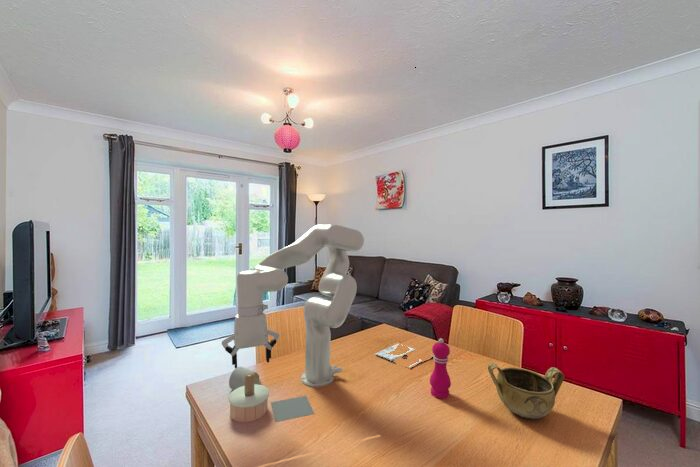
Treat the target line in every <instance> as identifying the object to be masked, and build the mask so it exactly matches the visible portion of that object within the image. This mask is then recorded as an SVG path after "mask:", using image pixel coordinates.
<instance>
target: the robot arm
mask: <svg viewBox="0 0 700 467" xmlns="http://www.w3.org/2000/svg"><path fill="white" fill-rule="evenodd" d="M364 242H365V239H364V235H363V234H362V232H360V231H359V230H357V229H355V228H354V229H353V228H350V227H347V226H342V225H338V224H332V223H331V224H329V223H327V224H325V223H320V224H315V225H314V226H313V227H311V228H310V229H309V230H307V231H306V232H305V233H303V234H302V236H299V237H298V238H297V240H295V241H294V242H292V243H291V244H289V245H288V246H285V247H283V248H281V249H279V250H276V251H275V252H273V253H271V254H269V255H268V256H266V257H265V258H264V259H262V260H261V261H260V262H259V263H258V264H256V265H255V266H254V267H253V269H251V270H250V269H249V270H243V271H240V272H239V273H238V274H236V275H237V276H236V286H237V288H236V289H237V314H236V315H235V317H234V325H233V334H231V335H229V336H227V337H226V338H225V339H223V340H222V341H221V345H222V347H223V348H224V350H225V352H227V353H228V354H230V357H231V364H232V365H233V366H234V369H236V368H237V367H238V354H237V353H238V351H239V350H241V349H242V350H243V349H249V348H255V347H261V346H264V347H265V360H266V363H270V359H272V349H273V347H274V346H275V345H276V344H277V342H278V339H279V337H280V333H279V332H277V331H274V330H271V329H269V327H268V321H267V314H266V312H265V310H268V309H269V308H268V304H265V303H264V302H263V301H264V297H263V296H264V293H270V292H271V293H273V292H274V293H275V292H279V291H282V290H284V288H285V287H286V286H287V285H288V282H289V277H288V274H287V272H285V270H286V269H288V268H291V267H296V266H297V267H298V266H300V265H305V264H306V263H308V262H309V261H311V259H312V258H314V257H315V256H316V255H317V254H318V253H319V252H320V251H321V250H323V248H328V252H329V260H328V263H327V266H326V268H325V269H324V272H323V274H322V276H321V278H320V280H319V282H318V292H319V293H321V295H324V296H326V297H329V298H325V297H321V296H313V297H309V299H307V300H306V301H305V303H304V305H303V317H304V323H305V354H304V355H305V357H304V358H305V359H304V360H305V361H304V362H305V364H304V368H305V369H304V372H303V373H302V374H301V377H300V380H301V383H302V384H303V385H305V386H308V387H312V388H320V387H325V386H328V385H330V384H331V383H333V382H334V379H335V376H334V375H335V374H336V373H337V374H339V373H343V368H342V366H340V367H337V365H331V338H332V337H331V335H332V334H331V328H332V329H336V328H337V329H338V328H339V327H341V326H342V325H343V324H344V322H345V321H346V319H347V317H348V314H349V312H350V310H351V307H352V304H353V302H354V300H355V298H356V294H357V290H358V287H357V284H358V283H357V281H356V279H355V278H354V277H353V276H352V275H350V274H349V275H348V274H347V273H348V271H349V268H350V259H349V256H348V252H358V251H360V250H361V249H362V248H363V246H364V244H365V243H364ZM330 298H332V299H330ZM269 336H271V337H273V338H272V339H271V340H270V341H269ZM232 341H233V343H234V345H233V347H231V346H230V345H229V343H230V342H232Z"/></svg>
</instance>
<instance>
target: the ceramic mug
mask: <svg viewBox="0 0 700 467" xmlns="http://www.w3.org/2000/svg"><path fill="white" fill-rule="evenodd" d="M247 373H254V374H255V384H258V385H261V382H262V380H261V379H260V375H259V373H258V372H256V371H255V370H253V369H252V370H251V369H249V368H245V367H243V366H237V368H234V369H233V370H232V372H231V374H230V376H229V380H228V386H229V388H230V389H231V390H232V391H234V390H235V389H237V388H239V387H242V386H244V383H245V374H247Z"/></svg>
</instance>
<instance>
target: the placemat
mask: <svg viewBox="0 0 700 467" xmlns="http://www.w3.org/2000/svg"><path fill="white" fill-rule="evenodd" d="M311 405H312V404H311V402H310V401H309V399H308V396H307V395H303V396H298V397H297V396H296V397H291V398H286V399H281V400H277V401H270V406H271V409H272V414H273V418H274V421H275V423H278V422H283V421H287V420H292V419H296V418H297V419H298V418H301V417H307V416H311V415H315V412H314V410H313V407H312V406H311Z"/></svg>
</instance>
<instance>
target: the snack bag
mask: <svg viewBox="0 0 700 467" xmlns="http://www.w3.org/2000/svg"><path fill="white" fill-rule="evenodd" d="M399 344H400V343H399V342H398V343H396V344H394V345H391V346H390V347H387V348H384V349H382V350H379V351H378V352H376V353H374V355H375V356H376V355H378V356H380V357H379V358H381V357H383V358H386V359H389V360H390V361H389V362H391V361H395V359H397V358H399V357H401V356H403V355H404V354H406V353H409V352H411V351H414V350H416V348H413V347H410V346H407V347H408V348H409V349H410V350H409V351H407V352H406V353H403V354H400V355H393V354H391V355H390V354H388V353H390V352H392V351H395V349H396V348H397V346H398V345H399ZM401 345H402V346H403V345H404V344H401ZM386 353H387V354H386ZM378 356H377V357H378ZM383 358H382V359H383ZM386 359H385V360H386ZM421 361H422V360H421V359H419V362H421ZM419 362H416V363H414V364H412V365H410V366H409V367H412V366H413V365H415V364H417V363H419Z"/></svg>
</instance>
